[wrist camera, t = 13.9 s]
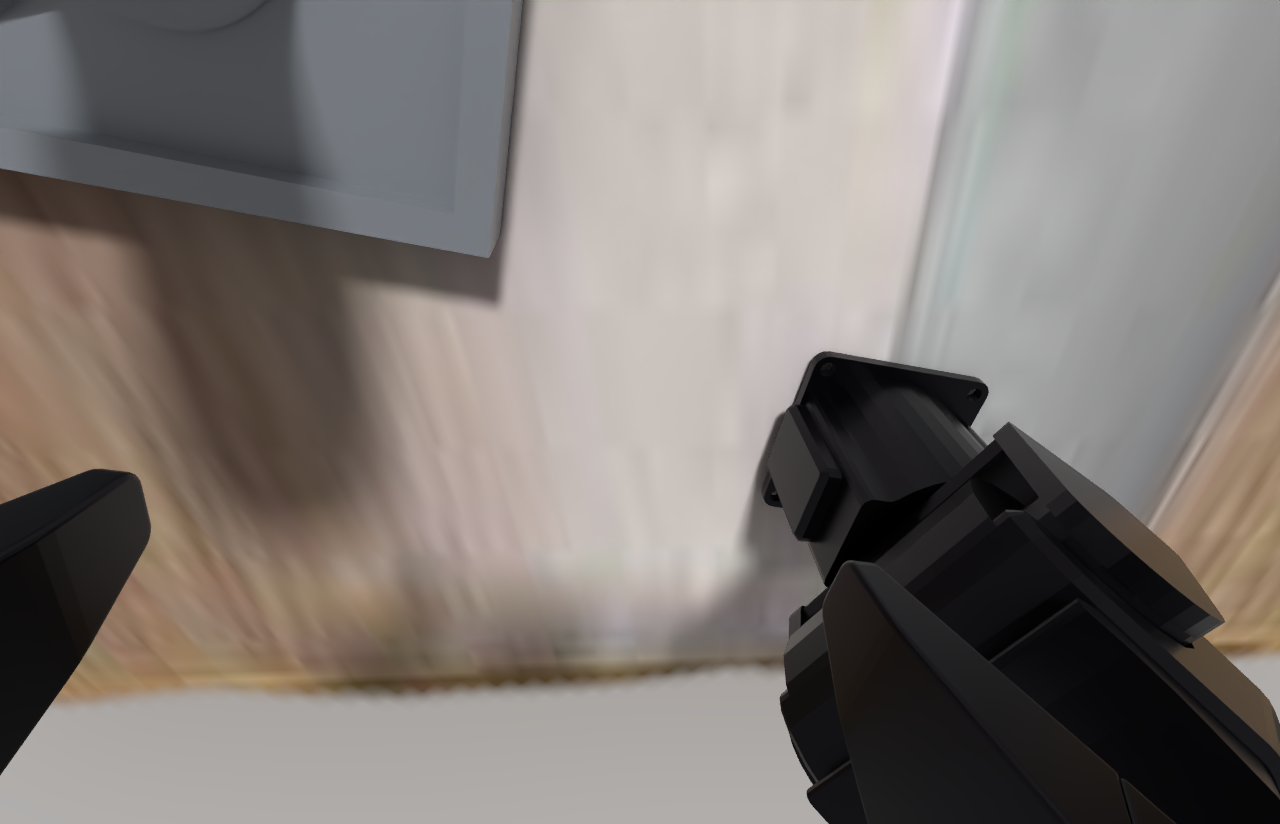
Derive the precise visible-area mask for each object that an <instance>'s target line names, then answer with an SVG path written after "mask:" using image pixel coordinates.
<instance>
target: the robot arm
mask: <svg viewBox="0 0 1280 824" xmlns="http://www.w3.org/2000/svg"><path fill="white" fill-rule="evenodd" d="M827 363H832V366H831V367H830V368H829V369H828V370H826V371H821V368H822V366H823V365H825V364H827ZM973 389H975V391H974V392H973V394H971V395H967V394H968V393H969V392H970V391H971V390H973ZM988 393H989V391H988V387H987V386H986V385H985V384H984V383H983V382H982V381H981V380H980V379H978V378H976V377H971V376H966V375H960V374H954V373H949V372H943V371H937V370H932V369H926V368H920V367H915V366H909V365H903V364H898V363H892V362H886V361H881V360H875V359H869V358H864V357H858V356H852V355H847V354H841V353H835V352H822V353H819V354H817V355H816V356H815V357H814V358H813V359H812V361H811V363H810V365H809V368H808V371H807V373H806V376H805V378H804V381H803V384H802V386H801V389H800V391H799V394H798V396H797V399H796V402H795V404H793V405H791V406H790V407H789V408H788V409H787V410H786V413H785V415H784V418H783V421H782V423H781V426H780V429H779V431H778V434H777V436H776V439H775V442H774V444H773V447H772V450H771V452H770V455H769V457H768V460H767V466H768V469H769V471H768V474H767V477H766V479H765V482H764V484H763V487H762V495H763V498H764V500H765V502H766V503H767V504H768V505H770V506H774V507H781V508H783V509H784V511H785V514H786V517H787V519H788V522H789V525H790V527H791V530H792V532H793V534H794V535H795V537H796V538H797V540H798V541H805V542H808V545H809V547H810V550H811V552H812V555H813V557H814V560H815V562H816V565H817V567H818V570H819V572H820V575H821V577H822V580H823V582H824V584H825V586H826V587H828V588H827V589H825V590H824V591H823V592H822V593H821V594H820V595H819V596H818V597H816V598H815V599H814V600H813V601H812V602H811V603H810V604H809V605H807V606H806V607H805V606H801V607H800V608H799V609H798V610H796V611H795V612H794V613H793V614H792V615H791V616H790V618H789V641H788V644H787V647H786V650H785V653H784V665H785V677H786V686H787V690H786V691H785V692H783V693H782V694H781V696H780V705H781V711H782V714H783V717H784V720H785V723H786V725H787V728H788V731H789V734H790V738H791V742H792V744H793V747H794V749H795V752H796V754H797V757H798V759H799V761H800V763H801V765H802V767H803V769H804V770H805V772H806V774H807V776H808V777H809V779H810V781H811V782H812V783H813V786H812V787H810V788H809V789H808V790H807V797H808V800H809V802H810V803H811V805H813V807H814V808H815V809H816V810H817V811H818V812H819V814H820V815H821V816H822V817H823V818H824V819H825V820H826V821H827V822H828V823H829V824H1280V723H1279V720H1278V718H1277V715H1276V712H1275V710H1274V708H1273V706H1272V705H1271V703H1270V701H1269V699H1267V697H1266V696H1265V695H1264V694H1263V693H1262V692H1261V690H1260V689H1259V688H1258V687H1257V686H1256V685H1254V684H1253V683H1252V682H1251V681H1250V680H1249V679H1248V678H1247V677H1246V676H1245V675H1244V674H1243V673H1241V672H1240V671H1239V670H1238V669H1237V668H1236V667H1235V666H1234V665H1233V664H1232V663H1231V662H1230V661H1229V660H1228V659H1227V658H1226V657H1225V656H1224V655H1223V654H1222V653H1220V652H1219V651H1218V650H1217V649H1216V648H1215V647H1214V646H1213V645H1212V644H1211V643H1210V642H1209V641H1208V640H1207V639H1206V638H1204V637H1203V636H1204V635H1205V634H1207V633H1208V632H1210V631H1212V630H1213V629H1215V628H1216V627H1218V626H1220V625H1221V624H1223V623H1225V620H1224V618H1223V617H1222V615H1221V614H1220V612H1219V611H1218V610H1217V608H1216V607H1215V605H1214V604H1213V603H1212V601H1211V600H1210V598H1209V597H1208V596H1207V594H1206V593H1205V591H1204V590H1203V589H1202V587H1201V586H1200V584H1199V583H1198V582H1197V580H1196V579H1195V577H1194V576H1193V575H1192V573H1191V572H1190V570H1189V569H1188V568H1187V566H1186V565H1185V563H1184V562H1183V561H1182V559H1181V558H1180V557H1179V556H1178V555H1177V554H1176V553H1175V552H1174V551H1173V550H1172V549H1171V548H1170V547H1169V546H1168V545H1166V544H1165V543H1164V542H1163V541H1162V540H1161V539H1160V538H1158V537H1157V536H1156V535H1155V534H1154V533H1153V532H1152V531H1150V530H1149V529H1148V528H1147V527H1146V526H1145V525H1144V524H1142V523H1141V522H1140V521H1139V520H1138V519H1137V518H1136V517H1134V516H1133V515H1132V514H1131V513H1130V512H1129V511H1128V510H1126V509H1125V508H1124V507H1123V506H1122V505H1121V504H1120V503H1118V502H1117V501H1116V500H1115V499H1114V498H1113V497H1111V496H1110V495H1109V494H1108V493H1106V492H1105V491H1104V490H1102V489H1101V488H1099V487H1098V486H1097V485H1095V484H1094V483H1093V482H1091V481H1090V480H1089V479H1087V478H1086V477H1084V476H1083V475H1082V474H1080V473H1079V472H1078V471H1076V470H1075V469H1073V468H1072V467H1071V466H1069V465H1068V464H1067V463H1065V462H1064V461H1062V460H1061V459H1060V458H1058V457H1057V456H1056V455H1054V454H1053V453H1051V452H1050V451H1049V450H1047V449H1046V448H1045V447H1043V446H1042V445H1040V444H1039V443H1038V442H1036V441H1035V440H1034V439H1032V438H1031V437H1029V436H1028V435H1027V434H1025V433H1024V432H1023V431H1021V430H1020V429H1018V428H1017V427H1016V426H1014V425H1013V424H1012V423H1010V422H1008V423H1007V424H1006V425H1004V426H1003V427H1002V428H1001V429H1000V430H999V431H998V432H997V433H995V434H994V435H993V437H994V438H995V440H994V441H993V442H991V443H990V444H989V445H988V446H987V445H986V443H985V442H984V441H983V440H982V439H981V438H980V437H979V436H978V435H977V434H976V433H975V432H974V430H973V429H972V428H971V425H972V423H973V421H974V419H975V418H976V416H977V414H978V412H979V411H980V409H981V407H982V405H983V403H984V402H985V400H986V398H987V396H988ZM775 491H777V493H778V494H776V495H771V494H772V493H773V492H775ZM150 533H151V523H150V519H149V515H148V510H147V506H146V502H145V498H144V494H143V489H142V485H141V482H140V480H139V478H138V477H137V476H136V475H135V474H132V473H130V472H124V471H116V470H107V469H92V470H89V471H86V472H83V473H81V474H78V475H75V476H73V477H70V478H68V479H65V480H62V481H60V482H57V483H55V484H52V485H50V486H47V487H44V488H42V489H39V490H37V491H34V492H31V493H29V494H26V495H24V496H21V497H19V498H16V499H13V500H11V501H8V502H6V503H3V504H0V775H1V774H2V772H3V771H4V769H5V768H6V767H7V765H8V764H9V762H10V761H11V760H12V758H13V757H14V755H15V754H16V752H17V751H18V750H19V748H20V746H21V745H22V744H23V743H24V741H25V740H26V738H27V737H28V736H29V734H30V733H31V731H32V730H33V729H34V727H35V726H36V724H37V723H38V721H39V720H40V719H41V717H42V716H43V714H44V713H45V712H46V710H47V709H48V707H49V706H50V705H51V703H52V702H53V700H54V699H55V698H56V696H57V695H58V693H59V692H60V691H61V689H62V688H63V686H64V685H65V684H66V682H67V681H68V679H69V678H70V676H71V675H72V673H73V672H74V670H75V669H76V667H77V666H78V664H79V663H80V661H81V660H82V658H83V656H84V655H85V653H86V652H87V650H88V648H89V647H90V645H91V643H92V642H93V640H94V638H95V636H96V634H97V633H98V631H99V629H100V627H101V626H102V624H103V622H104V620H105V619H106V617H107V615H108V613H109V611H110V610H111V608H112V606H113V604H114V603H115V601H116V599H117V597H118V595H119V594H120V592H121V590H122V588H123V587H124V585H125V583H126V581H127V579H128V578H129V576H130V574H131V572H132V571H133V569H134V567H135V565H136V563H137V562H138V560H139V558H140V556H141V555H142V553H143V551H144V549H145V547H146V545H147V543H148V541H149V538H150Z"/></svg>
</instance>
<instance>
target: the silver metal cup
mask: <svg viewBox="0 0 1280 824" xmlns="http://www.w3.org/2000/svg"><path fill="white" fill-rule="evenodd" d="M264 1H265V0H0V27H1V26H4V25H8V24H11V23H14V22H18V21H21V20H24V19H27V18H31V17H34V16H38V15H42V14H46V13H50V12H54V11H58V10H62V9H69V8H90V9H98V10H102V11H105V12H108V13H111V14H114V15H117V16H120V17H123V18H126V19H129V20H132V21H135V22H138V23H141V24H145V25H148V26H152V27H155V28H160V29H165V30H171V31H180V32H203V31H209V30H214V29H218V28H221V27H224V26H227V25H230V24H232V23H234V22H237V21H239V20H241V19H242V18H244V17H246V16H247V15H249V14H250V13H252V12H253V11H254V10H256V9H257V8H258V7H259V6H260V5H261V4H262V3H263V2H264Z"/></svg>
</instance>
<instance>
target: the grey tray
mask: <svg viewBox="0 0 1280 824" xmlns="http://www.w3.org/2000/svg"><path fill="white" fill-rule="evenodd" d="M522 5H523V0H265V1H264V2H263V3H262V4H261V5H260V6H259V7H258V8H257V9H256V10H254V11H253V12H252V13H250V14H249V15H247V16H246V17H244V18H242V19H241V20H239V21H237V22H234V23H232V24H230V25H227V26H224V27H221V28H218V29H214V30H209V31H203V32H180V31H171V30H165V29H160V28H155V27H152V26H148V25H145V24H141V23H138V22H135V21H132V20H129V19H126V18H123V17H120V16H117V15H114V14H111V13H108V12H105V11H102V10H98V9H90V8H69V9H62V10H58V11H54V12H50V13H46V14H42V15H38V16H34V17H31V18H27V19H24V20H21V21H18V22H14V23H11V24H8V25H4V26H1V27H0V168H1V169H7V170H12V171H18V172H23V173H29V174H34V175H39V176H45V177H50V178H56V179H61V180H67V181H72V182H78V183H83V184H88V185H94V186H99V187H105V188H110V189H116V190H121V191H126V192H132V193H137V194H143V195H148V196H154V197H159V198H164V199H170V200H175V201H181V202H186V203H192V204H197V205H202V206H208V207H213V208H219V209H224V210H230V211H235V212H240V213H246V214H251V215H257V216H262V217H268V218H273V219H278V220H284V221H289V222H295V223H300V224H306V225H311V226H316V227H322V228H327V229H333V230H338V231H344V232H349V233H354V234H360V235H365V236H371V237H376V238H382V239H387V240H392V241H398V242H403V243H409V244H414V245H420V246H425V247H430V248H436V249H441V250H447V251H452V252H458V253H463V254H468V255H474V256H479V257H485V258H489V257H490V255H491V253H492V251H493V249H494V247H495V245H496V243H497V241H498V238H499V236H500V230H501V220H502V209H503V199H504V189H505V179H506V169H507V158H508V148H509V138H510V128H511V118H512V107H513V97H514V87H515V77H516V67H517V56H518V46H519V36H520V26H521V15H522Z"/></svg>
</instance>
